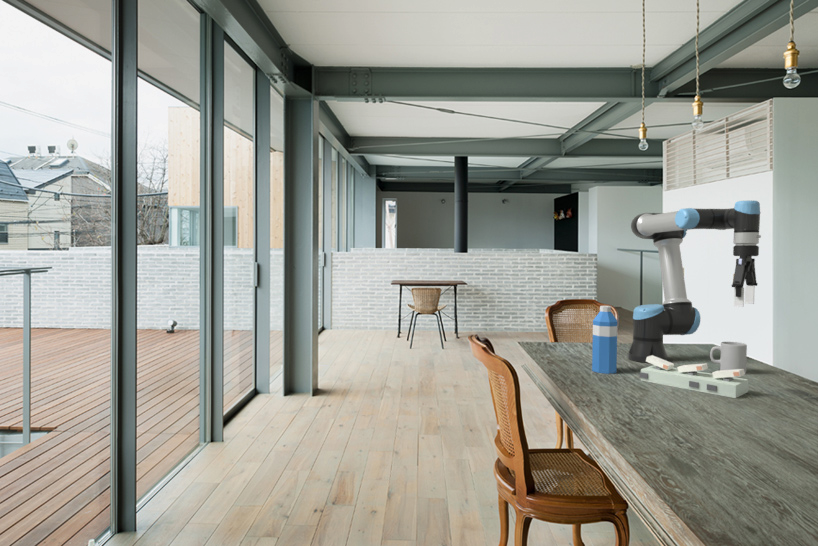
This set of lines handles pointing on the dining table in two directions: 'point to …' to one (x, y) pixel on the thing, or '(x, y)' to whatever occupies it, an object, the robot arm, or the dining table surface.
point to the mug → (731, 355)
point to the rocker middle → (692, 367)
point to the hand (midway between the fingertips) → (744, 305)
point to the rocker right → (728, 373)
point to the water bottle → (604, 342)
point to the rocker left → (659, 362)
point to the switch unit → (696, 381)
